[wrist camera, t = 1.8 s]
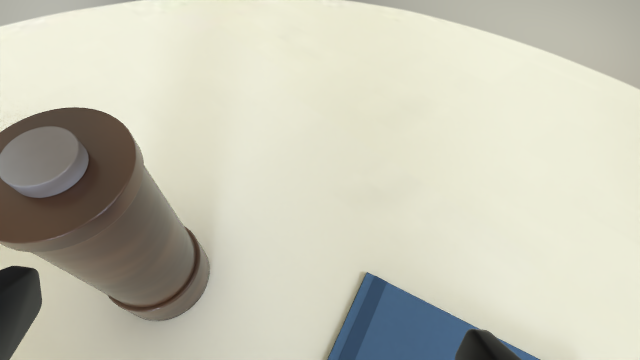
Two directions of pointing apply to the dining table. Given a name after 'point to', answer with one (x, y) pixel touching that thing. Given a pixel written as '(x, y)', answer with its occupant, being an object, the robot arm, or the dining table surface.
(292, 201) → the dining table surface
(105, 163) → the pepper mill
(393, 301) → the napkin
